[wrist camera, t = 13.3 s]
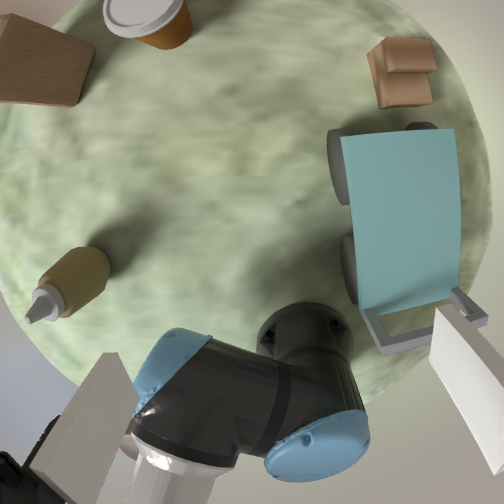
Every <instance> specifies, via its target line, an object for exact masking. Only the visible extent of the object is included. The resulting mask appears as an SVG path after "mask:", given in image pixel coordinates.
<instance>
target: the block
mask: <svg viewBox="0 0 504 504" xmlns="http://www.w3.org/2000/svg"><path fill="white" fill-rule="evenodd" d="M94 53H95V49H94V47H92V46H91V45H89V44H86V43H84V42H82V41H80V40H78V39H75V38H73V37H71V36H68V35H66V34H64V33H62V32H59V31H57V30H54V29H52V28H49V27H47V26H45V25H42V24H39V23H37V22H34V21H31V20H29V19H26V18H23V17H21V16H18V15H15V14H6V15H1V16H0V103H17V104H34V105H47V106H57V107H67V108H71V107H74V106H76V104H77V102H78V99H79V96H80V93H81V90H82V87H83V84H84V81H85V78H86V75H87V72H88V69H89V66H90V64H91V61H92V58H93V56H94Z"/></svg>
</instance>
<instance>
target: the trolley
mask: <svg viewBox="0 0 504 504" xmlns="http://www.w3.org/2000/svg"><path fill="white" fill-rule="evenodd" d="M327 154H328V162H329V168H330V174H331V178H332V182H333V186H334V190H335V193H336V195H337V198H338V200H339V202H340V203H341V204H342V205H348V204H350V206H351V215H352V224H353V233H351V234H345V235H342V237H341V244H340V248H341V261H342V268H343V274H344V279H345V284H346V288H347V291H348V294H349V297H350V300H351V302H352V303H353V304H359V312H360V314H361V316H362V318H363V320H364V322H365V324H366V326H367V328H368V330H369V332H370V334H371V336H372V338H373V340H374V342H375V344H376V346H377V348H378V351H379V353H380V355H381V357H382V356H386V355H390V354H394V353H398V352H402V351H406V350H410V349H413V348H417V347H421V346H424V345H428V344H431V342H432V335H433V327H434V326H431V327H428V328H424V329H420V330H417V331H413V332H409V333H405V334H401V335H397V336H393V337H389V335H388V334H387V332H386V330H385V328H384V327H383V325H382V323H381V321H380V320H379V318H378V316H379V315H384V314H388V313H393V312H397V311H401V310H405V309H409V308H414V307H418V306H422V305H425V304H429V303H433V302H437V301H441V300H444V299H448V298H450V299H451V300H452V301H453V302H454V303H455V304H456V305H457V306H458V307H459V308H460V309H461V310H462V311H463V312H464V313H465V314H466V315H467V316H465V318H466V319H467V320H468V321H469V322H470V323H471V324H472V325H473V326H474V327H475V328H476V329H477V328H480V327H482V326H485V325H487V321H488V315H487V314H486V313H485V312H484V311H483V310H482V309H481V308H480V307H479V306H478V305H477V304H476V303H474V302H473V301H472V300H471V299H470V298H469V297H468V296H467V295H466V294H465V293H464V292H462V291H461V290H460V289H459V288H458V281H459V267H460V248H461V199H460V179H459V166H458V155H457V146H456V138H455V131H454V129H438V128H437V127H436V126H435V125H434V124H432V123H430V122H413V123H410V124H409V125H408V126H407V128H406V130H405V131H396V132H384V133H373V134H363V135H354V134H353V133H352V131H351V130H350V129H349V128H341V129H332V130H329V131H328V134H327Z"/></svg>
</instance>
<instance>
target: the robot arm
mask: <svg viewBox="0 0 504 504" xmlns="http://www.w3.org/2000/svg"><path fill="white" fill-rule="evenodd" d="M352 351H353V338H352V334H351V331H350V329H349V326H348V324H347V322H346V320H345V319H344V318H343V316H342V315H341V314H340V313H338V312H337V311H336V310H334V309H332V308H330V307H328V306H325V305H322V304H317V303H299V304H294V305H291V306H288V307H285V308H283V309H281V310H279V311H277V312H276V313H274V314H273V315H272V316H271V317H269V318H268V319H267V320H266V322H265V323H264V324H263V326H262V327H261V329H260V331H259V334H258V337H257V346H256V353H253V352H250V351H247V350H244V349H241V348H238V347H235V346H233V345H230V344H227V343H224V342H222V341H219V340H216V339H214V338H213V336H211V335H207V336H206V335H203V334H199V333H196V332H193V331H190V330H187V329H184V328H173V329H170V330H168V331H167V332H166V333H165V334H164V335H163V336H162V337H161V338H160V339H159V340H158V342H157V343H156V345H155V346H154V348H153V349H152V350H151V352H150V354H149V355H148V357H147V359H146V360H145V362H144V364H143V366H142V367H141V369H140V371H139V373H138V375H137V377H136V379H135V381H134V383H133V384H132V382H131V380H130V378H129V376H128V374H127V372H126V370H125V368H124V366H123V364H122V361H121V359H120V357H119V355H118V353H103V354H102V355H101V357H100V358H99V360H98V361H97V362H96V364H95V365H94V367H93V368H92V370H91V371H90V373H89V374H88V375H87V377H86V378H85V380H84V381H83V383H82V384H81V386H80V387H79V389H78V390H77V392H76V393H75V395H74V396H73V398H72V399H71V401H70V402H69V404H68V405H67V407H66V408H65V410H64V411H63V413H62V414H61V415H58V416H57V417H56V418H55V419H53V420H52V421H51V422H50V423H49V425H48V426H47V428H46V429H45V431H44V434H42V436H41V437H40V441H38V442H37V443H36V445H35V447H34V448H33V450H32V451H31V453H30V455H29V456H28V458H27V460H26V461H25V463H24V465H23V466H22V467H21V466H20V465H19V464H18V463H17V462H16V461H15V460H14V459H13V458H12V457H11V456H10V455H9V454H8V453H7V452H4V451H1V452H0V504H65V502H67V503H68V504H95V503H96V501H97V498H98V496H99V493H100V491H101V488H102V486H103V484H104V481H105V479H106V476H107V474H108V471H109V469H110V467H111V464H112V462H113V460H114V457H115V455H116V452H117V450H118V448H119V446H120V443H121V441H122V439H123V437H124V434H125V432H126V430H127V427H128V425H129V423H130V421H131V418H135V422H134V425H133V428H132V431H131V435H132V437H133V439H134V441H135V443H136V445H137V446H138V448H139V455H138V458H137V461H136V464H135V467H134V470H133V473H132V476H131V479H130V483H129V486H128V489H127V492H126V495H125V498H124V502H123V504H207V501H208V498H209V495H210V492H211V490H212V487H213V484H214V481H215V478H216V477H218V476H219V475H222V474H224V473H226V472H228V471H230V470H233V469H234V467H235V464H236V461H237V458H238V455H239V454H240V453H245V454H249V455H254V456H257V457H262V458H265V459H264V465H265V467H266V470H267V472H268V473H269V474H270V475H272V476H273V477H274V478H275V479H278V480H281V481H285V482H296V483H297V482H310V481H316V480H320V479H324V478H327V477H330V476H333V475H335V474H338V473H340V472H342V471H344V470H346V469H348V468H349V467H351V466H352V465H353V464H355V463H356V462H357V461H358V460H359V459H360V458H361V457H362V456H363V455H364V454H365V452H366V451H367V449H368V446H369V444H370V432H369V427H368V416H367V414H366V411H365V408H364V405H363V402H362V399H361V396H360V393H359V390H358V388H357V385H356V382H355V379H354V376H353V373H352V370H351V367H350V364H351V358H352ZM429 362H430V364H431V365H432V367H433V368H434V370H435V371H436V373H437V375H438V376H439V378H440V379H441V381H442V382H443V384H444V386H445V388H446V389H447V391H448V393H449V394H450V396H451V398H452V399H453V401H454V403H455V404H456V406H457V408H458V409H459V411H460V413H461V415H462V416H463V418H464V420H465V422H466V423H467V425H468V427H469V429H470V431H471V432H472V434H473V436H474V438H475V440H476V441H477V443H478V445H479V447H480V449H481V451H482V453H483V455H484V457H485V459H486V461H487V462H488V464H489V467H490V469H491V471H492V473H493V475H494V476H495V475H496V474H498V473H500V472H502V471H504V359H503V357H502V356H501V355H500V354H499V353H498V352H497V351H496V350H495V349H494V347H493V346H492V345H491V344H490V343H489V342H488V341H487V340H486V339H485V338H484V337H483V335H482V334H481V333H479V331H478V330H477V329H476V328H475V327H474V326H473V325H472V324H471V323H470V322H469V321H468V320H467V319H466V318H465V317H464V316H463V315H462V314H461V313H460V312H459V311H458V310H457V309H456V308H455V307H454V306H453V305H452V304H451V303H450V304H446V305H442V306H439V307H436V310H435V319H434V327H433V335H432V342H431V349H430V356H429Z"/></svg>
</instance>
